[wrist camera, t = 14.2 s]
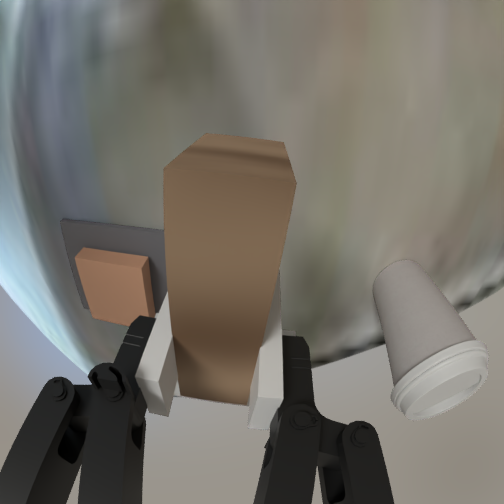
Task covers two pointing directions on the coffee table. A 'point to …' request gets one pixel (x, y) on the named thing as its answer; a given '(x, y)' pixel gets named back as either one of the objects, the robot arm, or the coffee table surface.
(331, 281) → the coffee table surface
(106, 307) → the tile
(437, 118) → the coffee table surface
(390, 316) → the coffee cup
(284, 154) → the tapered wooden block
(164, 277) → the mat
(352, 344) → the coffee table surface
